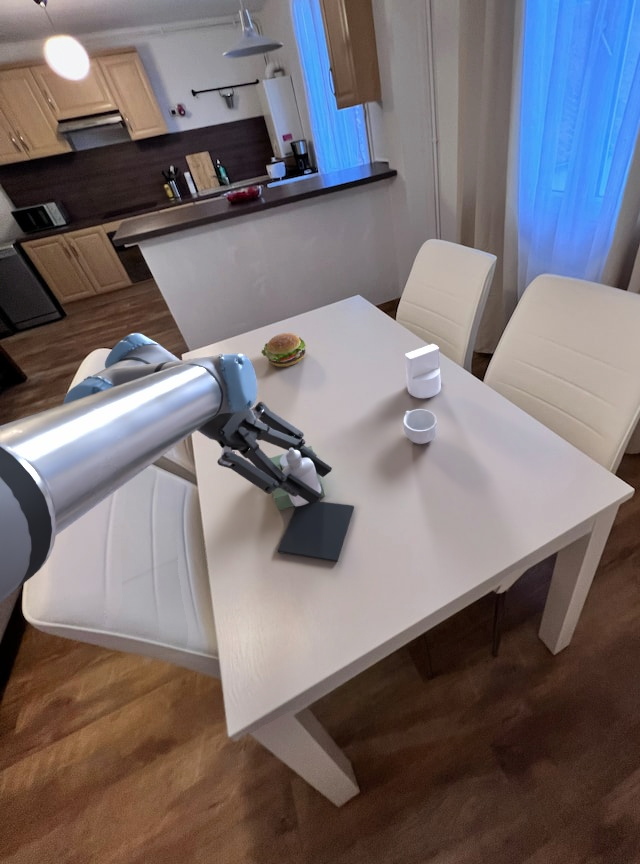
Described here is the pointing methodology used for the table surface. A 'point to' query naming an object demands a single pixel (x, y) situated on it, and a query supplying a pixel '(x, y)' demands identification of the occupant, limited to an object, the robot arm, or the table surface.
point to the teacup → (420, 425)
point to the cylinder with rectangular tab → (423, 371)
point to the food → (284, 349)
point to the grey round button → (283, 461)
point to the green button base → (281, 495)
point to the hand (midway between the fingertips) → (322, 485)
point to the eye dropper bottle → (301, 473)
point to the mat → (317, 530)
